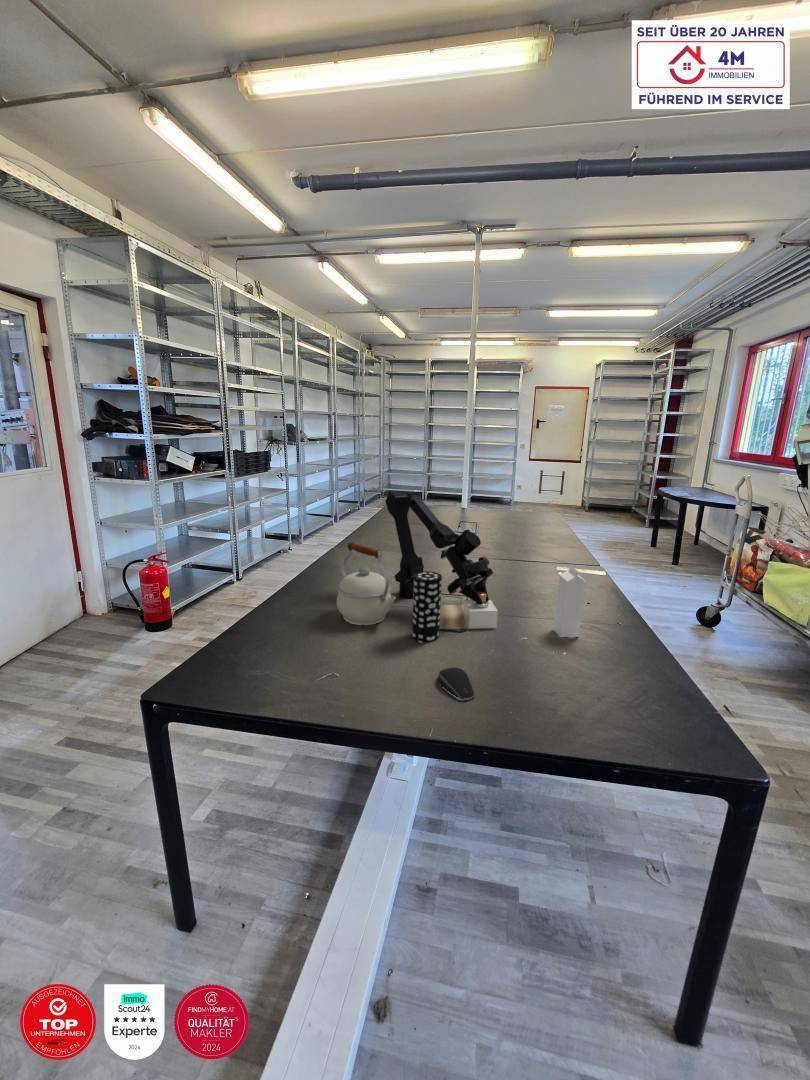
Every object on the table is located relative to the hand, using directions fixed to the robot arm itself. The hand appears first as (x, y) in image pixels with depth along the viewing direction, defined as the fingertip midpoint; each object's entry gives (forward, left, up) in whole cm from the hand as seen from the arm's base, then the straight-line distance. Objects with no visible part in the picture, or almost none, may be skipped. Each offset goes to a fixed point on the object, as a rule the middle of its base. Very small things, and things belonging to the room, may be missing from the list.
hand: (484, 602), depth 143 cm
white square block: (-1, +1, -7) cm, 8 cm away
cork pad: (-6, +6, -8) cm, 12 cm away
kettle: (-38, +6, -8) cm, 39 cm away
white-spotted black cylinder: (-20, -8, -8) cm, 23 cm away
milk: (+25, -7, -8) cm, 27 cm away
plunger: (-1, +1, -6) cm, 7 cm away
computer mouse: (-15, -35, -8) cm, 39 cm away
